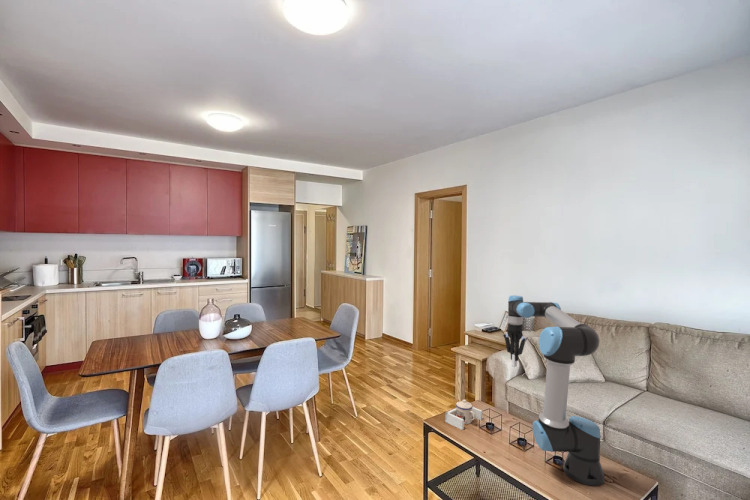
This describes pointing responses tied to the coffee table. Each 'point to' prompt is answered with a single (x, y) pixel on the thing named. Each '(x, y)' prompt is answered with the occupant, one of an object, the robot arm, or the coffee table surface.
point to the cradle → (458, 422)
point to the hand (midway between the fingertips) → (514, 366)
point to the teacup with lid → (465, 411)
